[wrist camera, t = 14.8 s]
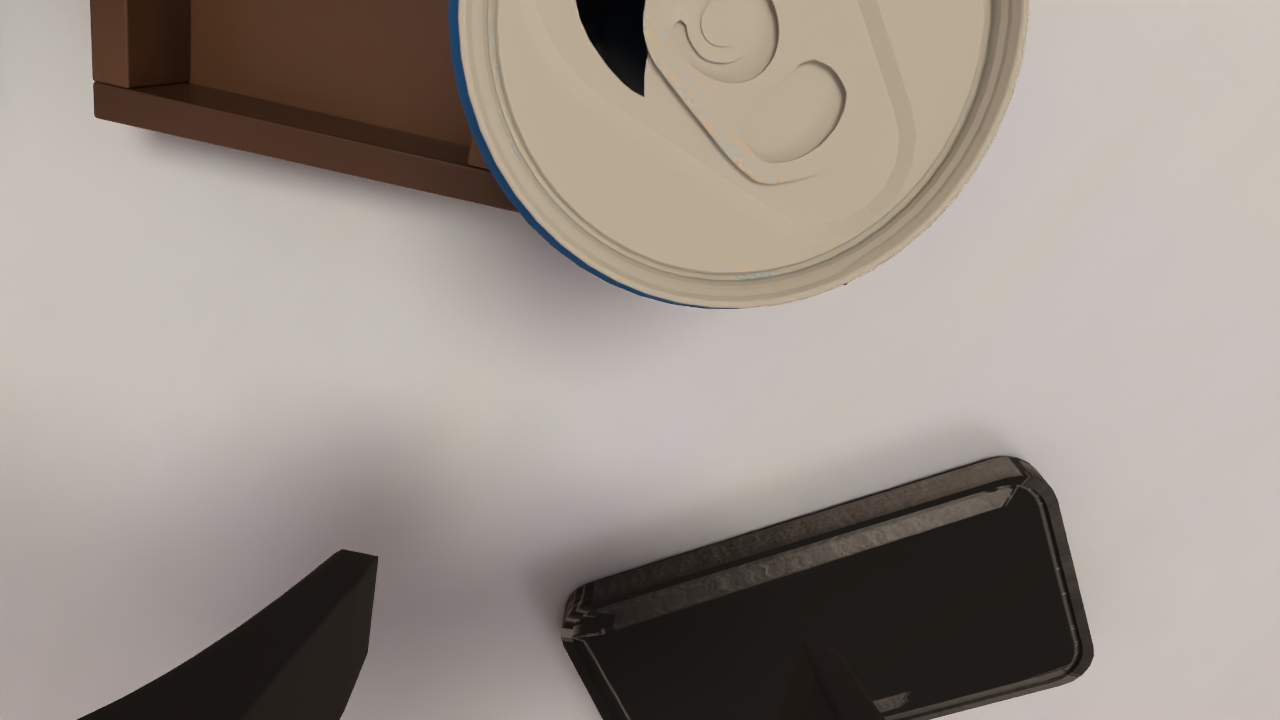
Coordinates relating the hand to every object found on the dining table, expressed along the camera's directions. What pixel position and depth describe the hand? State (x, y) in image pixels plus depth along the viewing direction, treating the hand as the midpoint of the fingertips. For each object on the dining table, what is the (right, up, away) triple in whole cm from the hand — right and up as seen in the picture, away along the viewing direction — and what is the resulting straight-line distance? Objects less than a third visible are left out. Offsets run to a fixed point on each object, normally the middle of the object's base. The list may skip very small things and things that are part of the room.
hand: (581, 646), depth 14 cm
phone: (+7, -3, +12) cm, 14 cm away
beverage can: (+2, +13, +6) cm, 14 cm away
